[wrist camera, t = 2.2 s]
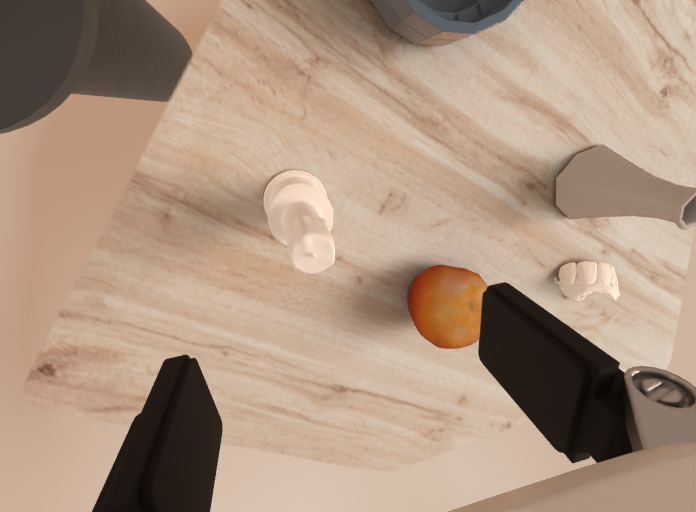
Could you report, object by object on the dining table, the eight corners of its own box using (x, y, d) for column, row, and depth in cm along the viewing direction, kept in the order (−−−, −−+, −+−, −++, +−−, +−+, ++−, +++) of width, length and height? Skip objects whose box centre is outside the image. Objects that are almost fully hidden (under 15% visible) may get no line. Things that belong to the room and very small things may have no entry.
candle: (251, 184, 26) (242, 236, 15) (312, 159, 26) (344, 192, 16) (280, 240, 28) (288, 318, 18) (335, 217, 29) (376, 279, 18)
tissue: (575, 244, 37) (607, 258, 33) (613, 268, 40) (646, 283, 36) (545, 284, 38) (572, 301, 35) (583, 304, 41) (612, 322, 38)
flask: (618, 188, 35) (740, 215, 26) (562, 229, 35) (662, 269, 26) (605, 130, 31) (739, 138, 23) (543, 176, 32) (650, 201, 23)
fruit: (384, 336, 34) (431, 347, 26) (396, 262, 35) (444, 254, 28) (446, 347, 36) (504, 360, 29) (454, 279, 38) (512, 275, 31)
